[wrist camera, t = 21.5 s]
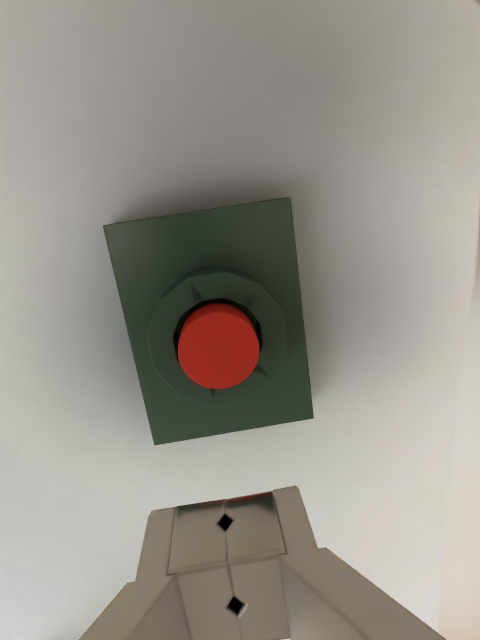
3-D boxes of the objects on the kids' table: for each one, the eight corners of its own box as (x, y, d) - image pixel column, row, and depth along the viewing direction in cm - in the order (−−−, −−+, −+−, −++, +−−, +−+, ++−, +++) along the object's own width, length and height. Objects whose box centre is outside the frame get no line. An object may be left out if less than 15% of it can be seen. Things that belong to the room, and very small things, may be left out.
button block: (110, 224, 21) (92, 227, 17) (284, 197, 21) (298, 196, 18) (158, 429, 24) (149, 465, 21) (307, 404, 24) (322, 436, 21)
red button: (173, 309, 19) (170, 319, 17) (249, 297, 19) (253, 306, 17) (187, 379, 20) (185, 395, 18) (259, 367, 20) (264, 382, 18)
